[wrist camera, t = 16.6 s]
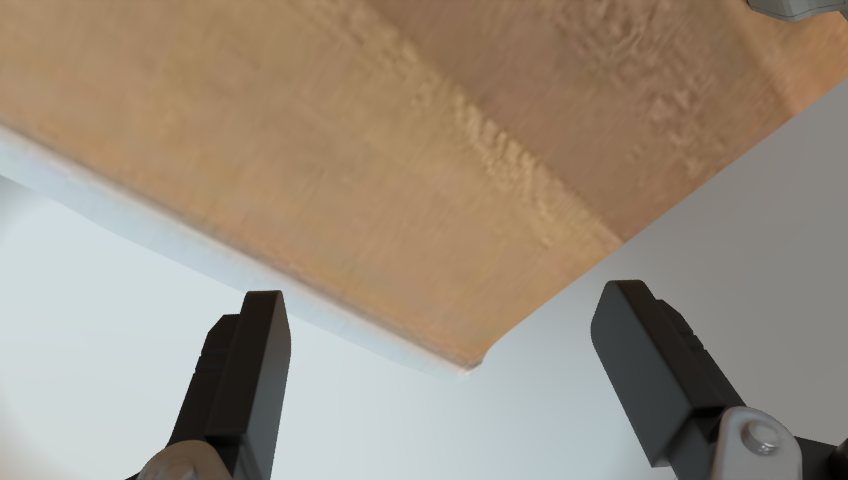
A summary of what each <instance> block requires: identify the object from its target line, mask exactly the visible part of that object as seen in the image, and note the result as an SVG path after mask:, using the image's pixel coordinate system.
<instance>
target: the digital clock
mask: <svg viewBox="0 0 848 480" xmlns="http://www.w3.org/2000/svg"><path fill="white" fill-rule="evenodd" d="M748 3H749V5H750V8H751V10H753V11H756V12H759V13H762V14H764V15H767V16H770V17H773V18H776V19H779V20H782V21H787V22H796V21H799V20H802V19H804V18H807V17H809V16H812V15H816V14H820V13H825V12H832V11H840V13H841V14H842V15H843V16H844V18H845V19H846V20H847V21H848V0H748Z"/></svg>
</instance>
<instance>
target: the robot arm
mask: <svg viewBox="0 0 848 480" xmlns="http://www.w3.org/2000/svg"><path fill="white" fill-rule="evenodd" d="M591 339H592V343H593V345H594V348H595V350H596V352H597V354H598V356H599V358H600V360H601V362H602V364H603V367H604V369H605V371H606V373H607V375H608V377H609V379H610V381H611V383H612V385H613V387H614V390H615V392H616V394H617V396H618V398H619V400H620V402H621V404H622V406H623V408H624V410H625V412H626V415H627V417H628V418H629V421H630V423H631V425H632V427H633V429H634V431H635V433H636V435H637V438H638V439H639V442H640V444H641V446H642V448H643V450H644V452H645V454H646V456H647V458H648V461H649V462H650V464H651V467H652V468H653V467H667V466H671V467H672V468H673V470H674V472H675V474H676V478H675V479H674V480H848V438H847V439H846V440H845V441H844V442H843V443H842V444H841V445H839V446H834V445H829V444H825V443H821V442H817V441H813V440H808V439H804V438H800V437H796V436H793V435H792V434H791V433H790V432H789V430H788V429H787V428H786V427H785V426H784V425H782V424H781V423H780V422H779V421H777V420H776V419H775V418H773V417H772V416H770V415H768V414H766V413H764V412H762V411H760V410H757V409H754V408H750V407H747V406H746V404H745V403H744V402H743V401H742V399H741V398H740V396H739V395H738V393H737V392H736V391H735V389H734V388H733V386H732V385H731V384H730V382H729V381H728V379H727V378H726V377H725V376H724V374H723V372H722V371H721V370H720V368H719V367H718V366H717V364H716V363H715V361H714V360H713V358H712V357H711V356H710V354H709V353H708V352H707V350H704V348H703V344H702V343H701V342H700V340H699V339H698V337H697V336H696V335H694V334H693V330H692V329H691V328H690V326H689V325H688V323H687V322H686V321H685V319H684V318H683V316H682V315H681V314H680V313H679V312H677V311H676V310H675V309H674V308H672V307H671V306H670V305H669V304H667V303H666V302H665V301H664V300H656V299H655V297H654V296H653V294H652V293H651V292H650V290H649V289H648V287H647V286H646V284H645V283H644V282H643V281H641V280H614V281H613V280H612V281H609V282H608V283H606V285H605V287H604V290H603V292H602V295H601V298H600V300H599V303H598V306H597V308H596V311H595V314H594V316H593V319H592V322H591ZM290 356H291V336H290V329H289V324H288V319H287V314H286V309H285V303H284V298H283V294H282V292H281V290H273V291H248V292H247V293H246V295H245V298H244V302H243V305H242V308H241V312H240V314H229V315H223V316H222V317H221V318H220V320H219V321H218V322H217V323H216V324H215V325H214V326H213V327H212V329H211V330H210V331H209V332H208V335H207V337H206V340H205V343H204V346H203V348H202V351H201V356H200V357H199V360H198V362H197V365H196V368H195V373H194V374H193V377H192V380H191V382H190V385H189V388H188V391H187V393H186V396H185V399H184V402H183V404H182V407H181V410H180V413H179V416H178V418H177V421H176V424H175V427H174V430H173V432H172V435H171V437H170V440H169V442H168V443H167V445H166V447H165V448H164V449H163V450H161V451H160V452H158V453H157V454H156V455H155V456H153V457H152V458H151V459H150V460H149V461H148V462H147V464H146V465H145V466H144V467H143V469H142V470H141V471H140V472H139V473H137V474H135V475H134V476H132V477H130V478H128V479H125V480H270V477H271V471H272V465H273V459H274V453H275V447H276V441H277V435H278V429H279V423H280V417H281V411H282V405H283V399H284V393H285V387H286V381H287V375H288V369H289V363H290Z"/></svg>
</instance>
